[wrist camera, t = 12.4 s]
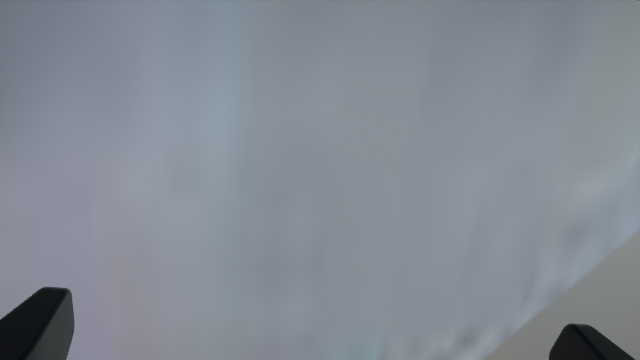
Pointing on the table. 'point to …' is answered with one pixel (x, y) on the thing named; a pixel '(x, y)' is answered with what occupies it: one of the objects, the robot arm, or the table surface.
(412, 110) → the table surface
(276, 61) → the table surface
